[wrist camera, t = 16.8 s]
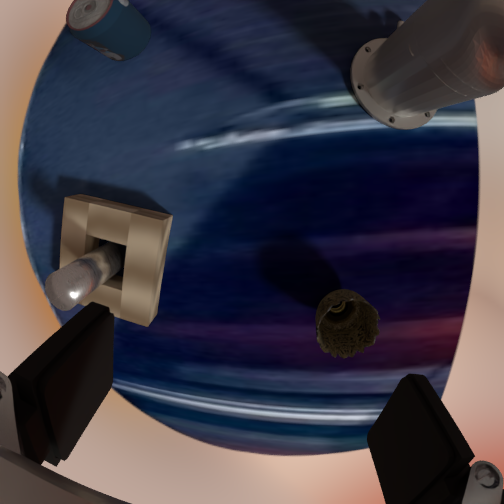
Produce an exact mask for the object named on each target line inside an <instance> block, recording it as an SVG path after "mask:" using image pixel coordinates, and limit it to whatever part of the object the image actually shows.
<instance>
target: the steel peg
mask: <svg viewBox="0 0 504 504" xmlns="http://www.w3.org/2000/svg"><path fill="white" fill-rule="evenodd" d="M126 248H127V246H126V245H122V244H119V243H115V242H112V241H110V242H108V243H106V244H104V245H102V246H100V247H99V248H97V249H95V250H93V251H91V252H89V253H87V254H86V255H84V256H82V257H80V258H78V259H76V260H75V261H73V262H71V263H69V264H67V265H66V266H64V267H62V268H60V269H59V270H57V271H55V272H53V273H52V274H50V275H49V276H48V277H47V279H46V283H45V289H46V293H47V296H48V298H49V300H50V301H51V303H52V304H53V305H54V306H55V307H57V308H58V309H60V310H64V311H67V310H70V309H72V308H73V307H74V306H75V305H76V304H78V303H79V302H80V301H81V300H83V299H84V298H85V297H86V296H88V295H89V294H90V293H91V292H93V291H94V290H95V289H97V288H98V287H99V286H100V285H102V284H103V283H104V282H105V281H107V280H108V279H109V278H111V277H112V276H113V275H115V274H116V273H117V272H118V271H120V270H121V269H122V268H124V265H125V257H126Z"/></svg>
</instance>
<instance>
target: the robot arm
mask: <svg viewBox="0 0 504 504" xmlns="http://www.w3.org/2000/svg"><path fill="white" fill-rule="evenodd" d="M365 50H366V51H367V52H366V51H365ZM350 79H351V85H352V88H353V91H354V94H355V96H356V98H357V99H358V101H359V103H360V104H361V106H362V107H363V108H364V109H365V111H366V112H367V113H368V114H369V115H371V116H372V117H373V118H374V119H375V120H377V121H378V122H380V123H381V124H384V125H386V126H388V127H391V128H395V129H403V130H408V129H414V128H417V127H420V126H422V125H424V124H426V123H427V122H428V121H429V120H431V119H432V117H433V116H434V114H435V113H436V111H437V109H439V108H442V107H446V106H449V105H453V104H456V103H460V102H464V101H468V100H472V99H475V98H479V97H483V96H487V95H490V94H493V93H495V92H497V91H499V90H500V89H502V88H503V87H504V0H427V1H426V2H425V3H424V4H423V5H422V6H421V7H419V8H418V9H417V10H416V11H415V12H414V13H413V14H412V15H411V16H410V17H409V18H408V19H407V20H406V21H405V22H403V21H399V22H398V24H397V30H396V31H395V32H394V33H393V34H392V35H391V36H390V37H389V38H378V39H375V40H371V41H369V42H368V43H366V44H364V45H363V46H362V47H361V48H360V49H359V50H358V52H357V53H356V54H355V56H354V58H353V60H352V64H351V68H350ZM357 86H359V87H360V89H358V87H357ZM425 115H426V116H425ZM389 119H390V120H391V122H389ZM113 339H114V314H113V313H111V312H110V308H109V307H107V306H105V305H102V304H99V303H96V302H90V303H89V304H88V305H87V306H85V307H84V308H83V309H82V310H81V311H79V312H78V313H77V314H76V315H75V316H74V317H73V318H71V319H70V320H69V321H68V322H67V323H66V324H65V325H63V326H62V327H61V328H60V329H59V330H58V331H57V332H55V333H54V334H53V335H52V336H51V337H50V338H48V339H47V340H46V341H45V342H44V343H43V344H42V345H41V346H40V347H39V348H37V349H36V350H35V351H34V352H33V353H32V354H31V355H30V356H29V357H28V358H27V359H26V360H25V361H23V362H22V363H21V364H20V365H19V366H18V367H17V368H16V369H15V370H14V371H13V372H12V373H11V374H10V375H9V376H8V377H7V376H6V375H5V374H3V373H2V372H0V504H131V503H128V502H125V501H122V500H119V499H117V498H114V497H111V496H109V495H106V494H103V493H101V492H98V491H96V490H93V489H91V488H88V487H86V486H84V485H81V484H79V483H77V482H75V481H72V480H70V479H68V478H66V477H64V476H62V475H60V474H58V473H56V472H54V471H52V470H50V469H48V468H46V467H44V466H42V465H41V464H42V463H43V461H44V460H45V461H47V462H49V463H50V464H52V465H54V466H57V465H58V463H59V462H60V460H61V459H62V460H64V461H65V460H66V459H67V458H68V457H69V455H70V453H71V452H72V450H73V448H74V447H75V445H76V443H77V442H78V440H79V438H80V437H81V435H82V434H83V432H84V430H85V428H86V427H87V425H88V424H89V422H90V420H91V419H92V417H93V416H94V414H95V413H96V411H97V409H98V408H99V406H100V405H101V403H102V402H103V400H104V398H105V397H106V395H107V394H108V392H109V391H110V389H111V386H112V383H113ZM367 442H368V446H369V449H370V452H371V455H372V459H373V462H374V465H375V468H376V471H377V475H378V478H379V482H380V485H381V489H382V492H383V496H384V499H385V503H386V504H504V489H503V477H502V474H501V472H500V471H499V469H498V468H497V467H496V466H495V465H493V464H492V463H490V462H487V461H477V462H475V463H474V464H473V465H472V466H471V467H470V465H469V462H470V461H471V460H472V459H473V458H474V457H475V455H474V453H473V452H472V450H471V448H470V447H469V445H468V443H467V441H466V440H465V438H464V436H463V435H462V433H461V431H460V430H459V428H458V426H457V425H456V423H455V422H454V420H453V418H452V417H451V415H450V414H449V412H448V410H447V409H446V408H445V406H444V404H443V403H442V401H441V399H440V398H439V396H438V395H437V393H436V392H435V390H434V389H433V387H432V386H431V384H430V383H429V381H428V380H427V378H426V377H425V376H424V375H419V374H408V375H407V376H406V377H404V378H402V379H401V380H400V382H399V384H398V386H397V387H396V389H395V391H394V392H393V394H392V396H391V398H390V399H389V401H388V403H387V404H386V406H385V407H384V409H383V411H382V412H381V414H380V415H379V417H378V419H377V420H376V422H375V423H374V425H373V426H372V428H371V429H370V431H369V432H368V435H367Z"/></svg>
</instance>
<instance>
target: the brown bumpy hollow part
mask: <svg viewBox="0 0 504 504" xmlns="http://www.w3.org/2000/svg"><path fill="white" fill-rule="evenodd" d="M340 301H342V303H341V305H340V306H339V307H338V308H333V307H332V306H335V305H337V304H340ZM378 319H380V317H379V315H378V311H377V310H376V309H375V308H374V307H373V306H372V305H371V304H370V303H368V302H367V301H366V300H365V299H364V298H363V297H362V296H360V295H359V294H357V293H356V292H354V291H351V290H346V289H340V290H335V291H333V292H330V293H329V294H327V295H326V296H325V297H324V298H323V299H322V300H321V302H320V303H319V305H318V308H317V311H316V333H317V341H318V343H319V344H320V347H321V349H322V350H323V351H324V352H325V353H327V352H330V353H331V355H332V356H333V357H336V356H337V353H338V355H339V356H340V357H342V358H346V357H347V356H350V357H353V356H354V354H355V353H356V351H359V352H362V353H363V352H364V347H369V346H371V345H373V344H374V342H375V338H376V336H377V335H379V329H378V327H377V324H378Z"/></svg>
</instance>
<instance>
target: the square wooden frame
mask: <svg viewBox="0 0 504 504" xmlns="http://www.w3.org/2000/svg"><path fill="white" fill-rule="evenodd" d="M172 217H173V215H169V214H165V213H161V212H157V211H153V210H148V209H144V208H140V207H136V206H131V205H127V204H123V203H118V202H114V201H110V200H105V199H101V198H97V197H92V196H88V195H83V194H78V195H73V196H68V197H65V200H64V210H63V220H62V233H61V249H60V268H62V267H64V266H66V265H67V264H69V263H71V262H73V261H75V260H76V259H78V258H80V257H82V256H84V255H86V254H87V253H89V252H91V251H93V250H95V249H97V248H98V247H99V238H101V239H104V240H108V241H112V242H115V243H119V244H122V245H126V246H127V248H126V257H125V265H124V275H123V277H121V276H118V275H113V276H112V277H111V278H109V279H108V280H107V281H105V282H104V283H103V284H102V285H100V286H99V287H98V288H97V289H95V290H94V291H93V292H91V293H90V294H89V295H88V296H86V297H85V298H84V299H83V300H81V301H80V302H79V304H82V305H84V306H87V305H88V304H89V303H90V302H96V303H99V304H102V305H105V306H107V307H109V308H110V312H111V313H113V314H114V316H116V317H119V318H122V319H125V320H128V321H131V322H134V323H137V324H140V325H143V326H146V327H148V326H149V324H150V323H151V321H152V320H153V319H154V317H155V316H156V314H157V310H158V302H159V295H160V288H161V281H162V275H163V268H164V262H165V256H166V250H167V245H168V239H169V233H170V228H171V222H172Z"/></svg>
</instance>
